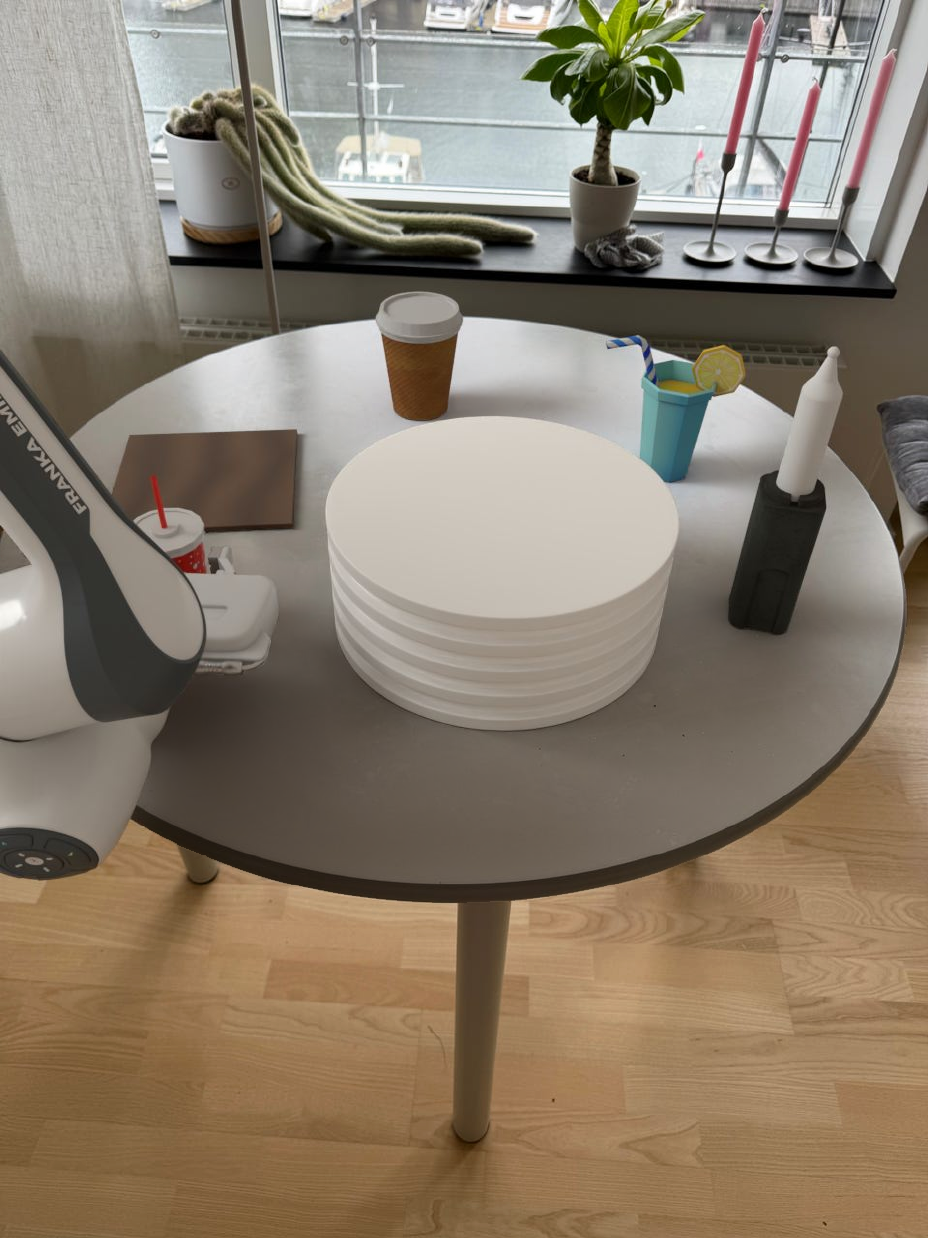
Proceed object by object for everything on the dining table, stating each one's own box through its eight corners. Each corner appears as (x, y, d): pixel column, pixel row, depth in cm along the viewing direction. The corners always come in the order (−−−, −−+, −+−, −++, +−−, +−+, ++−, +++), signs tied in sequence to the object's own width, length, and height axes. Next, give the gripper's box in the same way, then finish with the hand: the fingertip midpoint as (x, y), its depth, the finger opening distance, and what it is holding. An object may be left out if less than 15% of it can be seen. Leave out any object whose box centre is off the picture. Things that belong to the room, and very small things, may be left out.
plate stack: (598, 506, 97) (611, 403, 90) (709, 703, 77) (739, 591, 69) (319, 536, 92) (309, 430, 85) (357, 755, 72) (348, 641, 64)
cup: (595, 489, 100) (613, 353, 90) (585, 450, 105) (600, 318, 96) (729, 488, 100) (761, 353, 90) (711, 449, 106) (739, 318, 96)
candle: (786, 600, 86) (869, 336, 70) (787, 637, 83) (875, 367, 66) (728, 591, 87) (797, 327, 71) (727, 627, 84) (799, 358, 67)
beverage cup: (221, 631, 82) (195, 492, 73) (147, 642, 81) (110, 502, 71) (217, 587, 86) (192, 450, 77) (146, 596, 85) (112, 459, 76)
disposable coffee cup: (362, 408, 111) (356, 307, 103) (418, 380, 117) (416, 282, 109) (423, 437, 107) (422, 334, 99) (478, 406, 112) (481, 306, 104)
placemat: (101, 536, 92) (99, 531, 91) (130, 439, 105) (129, 434, 105) (292, 528, 93) (292, 523, 93) (297, 433, 107) (296, 428, 106)
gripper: (257, 641, 65) (289, 523, 76) (-44, 632, 65) (29, 515, 76) (268, 706, 70) (296, 585, 80) (-16, 697, 70) (50, 577, 80)
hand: (164, 551), depth 78 cm, fingers open, 8 cm apart
